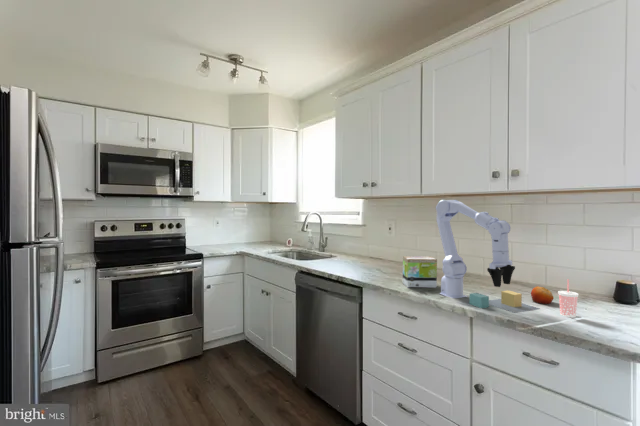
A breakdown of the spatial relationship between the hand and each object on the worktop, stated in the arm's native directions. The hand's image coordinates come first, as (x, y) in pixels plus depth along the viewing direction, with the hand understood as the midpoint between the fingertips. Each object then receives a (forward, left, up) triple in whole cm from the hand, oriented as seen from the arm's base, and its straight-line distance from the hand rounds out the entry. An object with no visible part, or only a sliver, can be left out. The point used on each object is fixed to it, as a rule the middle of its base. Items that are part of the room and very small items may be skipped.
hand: (502, 285), depth 132 cm
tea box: (-44, -6, -10) cm, 46 cm away
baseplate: (-1, +6, -10) cm, 11 cm away
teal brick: (-5, -6, -10) cm, 13 cm away
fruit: (+1, +22, -10) cm, 24 cm away
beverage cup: (+16, +15, -10) cm, 24 cm away
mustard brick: (-1, +7, -9) cm, 11 cm away
